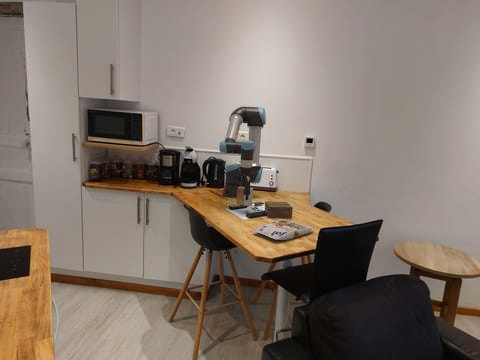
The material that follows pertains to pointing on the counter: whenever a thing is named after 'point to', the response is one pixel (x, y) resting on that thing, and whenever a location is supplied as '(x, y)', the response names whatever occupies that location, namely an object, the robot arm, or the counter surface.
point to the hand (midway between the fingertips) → (244, 202)
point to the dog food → (283, 230)
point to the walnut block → (278, 209)
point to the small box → (241, 196)
